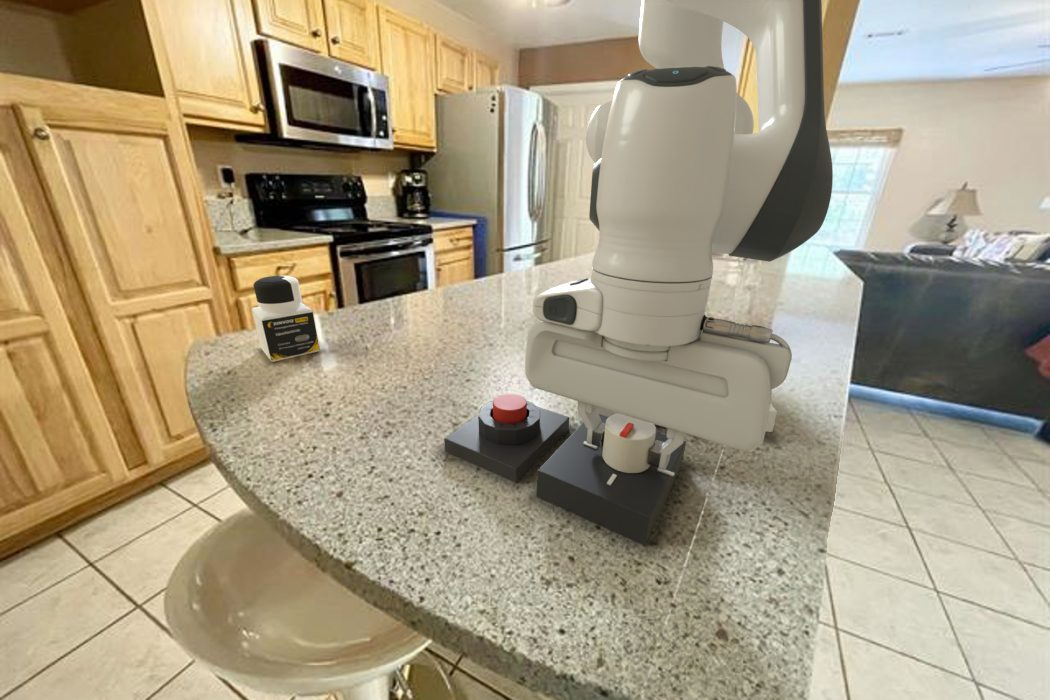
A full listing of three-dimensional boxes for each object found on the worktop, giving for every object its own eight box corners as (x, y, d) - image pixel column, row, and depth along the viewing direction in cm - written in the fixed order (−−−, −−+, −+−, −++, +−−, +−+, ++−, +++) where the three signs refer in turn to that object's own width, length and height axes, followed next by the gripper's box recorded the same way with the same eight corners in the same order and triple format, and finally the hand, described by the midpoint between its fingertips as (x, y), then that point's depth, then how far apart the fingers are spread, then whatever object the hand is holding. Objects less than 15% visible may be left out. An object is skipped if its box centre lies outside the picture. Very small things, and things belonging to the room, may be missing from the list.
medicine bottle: (271, 363, 64) (253, 285, 59) (261, 349, 69) (243, 276, 64) (320, 351, 68) (307, 278, 64) (307, 339, 73) (294, 270, 69)
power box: (504, 407, 53) (504, 382, 51) (569, 429, 48) (570, 403, 47) (444, 451, 44) (442, 423, 43) (516, 483, 40) (516, 453, 38)
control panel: (590, 434, 47) (592, 410, 46) (684, 466, 42) (689, 440, 41) (536, 497, 38) (537, 468, 37) (648, 548, 33) (653, 517, 32)
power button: (505, 404, 47) (505, 390, 47) (532, 413, 45) (533, 399, 45) (486, 418, 44) (485, 403, 44) (514, 428, 43) (514, 414, 42)
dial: (612, 438, 41) (616, 405, 40) (657, 453, 39) (662, 418, 38) (594, 462, 38) (598, 426, 36) (642, 480, 36) (648, 442, 34)
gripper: (800, 320, 30) (756, 475, 36) (552, 281, 40) (547, 407, 46) (797, 347, 25) (748, 522, 31) (516, 295, 35) (515, 434, 41)
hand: (626, 452), depth 38 cm, fingers closed on dial, 4 cm apart
